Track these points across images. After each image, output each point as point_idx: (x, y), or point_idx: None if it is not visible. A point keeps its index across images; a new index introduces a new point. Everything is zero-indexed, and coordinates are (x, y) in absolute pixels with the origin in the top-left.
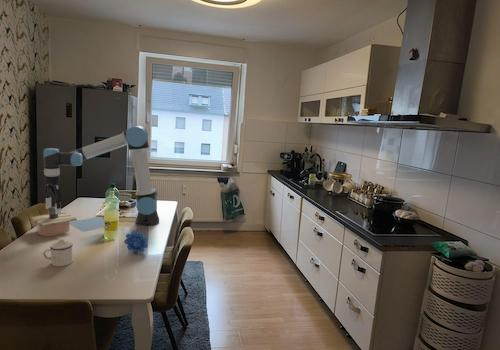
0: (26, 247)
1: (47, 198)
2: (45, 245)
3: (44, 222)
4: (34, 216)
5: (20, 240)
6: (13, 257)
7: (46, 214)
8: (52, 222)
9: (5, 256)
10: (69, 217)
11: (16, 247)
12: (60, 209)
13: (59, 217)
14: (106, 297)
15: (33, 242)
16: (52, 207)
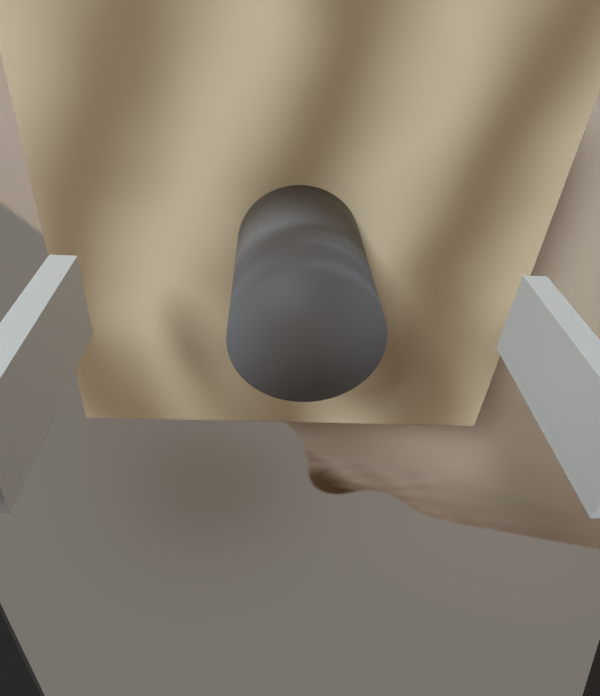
0: (494, 445)
1: (6, 486)
2: None
3: (413, 391)
4: (83, 385)
5: (330, 433)
6: (572, 516)
7: (53, 251)
8: (488, 335)
9: (521, 532)
10: (479, 42)
11: (441, 476)
12: (581, 330)
13: (345, 176)
14: None
15: None
16: (265, 343)
